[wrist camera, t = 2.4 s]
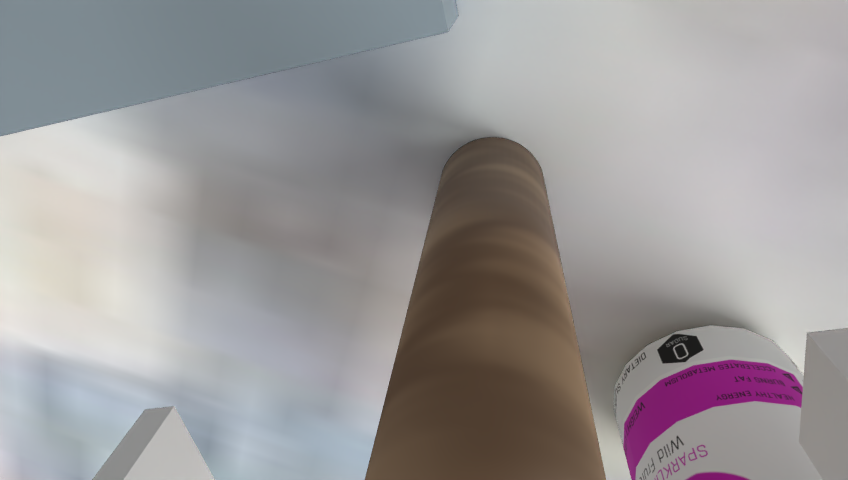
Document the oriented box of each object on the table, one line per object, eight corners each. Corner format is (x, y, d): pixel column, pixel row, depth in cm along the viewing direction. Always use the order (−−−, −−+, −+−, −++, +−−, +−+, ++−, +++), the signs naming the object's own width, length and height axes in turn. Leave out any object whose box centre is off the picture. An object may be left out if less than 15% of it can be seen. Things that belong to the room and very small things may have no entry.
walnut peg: (536, 128, 23) (602, 423, 8) (550, 225, 24) (624, 602, 10) (429, 148, 23) (327, 445, 9) (451, 241, 25) (393, 607, 11)
